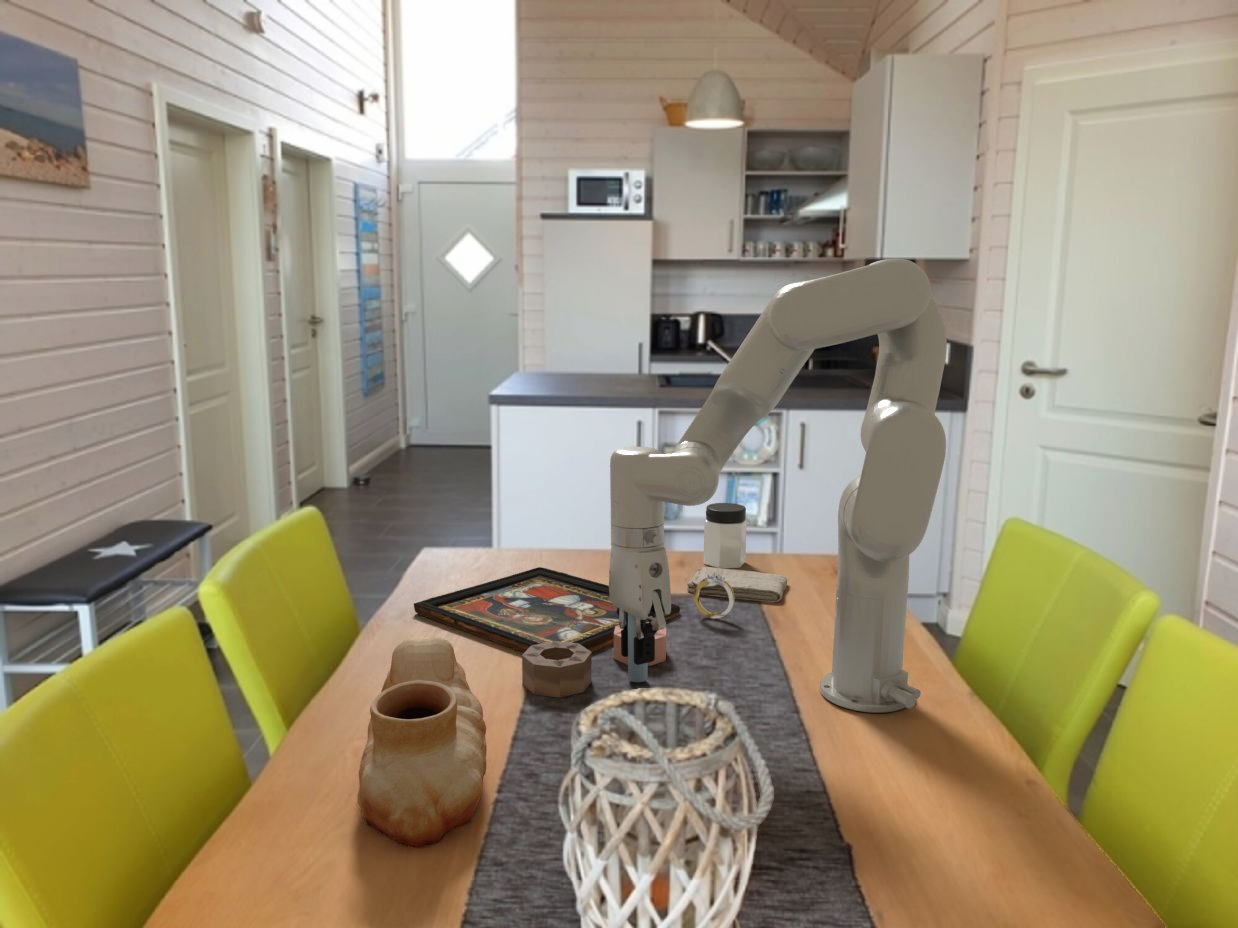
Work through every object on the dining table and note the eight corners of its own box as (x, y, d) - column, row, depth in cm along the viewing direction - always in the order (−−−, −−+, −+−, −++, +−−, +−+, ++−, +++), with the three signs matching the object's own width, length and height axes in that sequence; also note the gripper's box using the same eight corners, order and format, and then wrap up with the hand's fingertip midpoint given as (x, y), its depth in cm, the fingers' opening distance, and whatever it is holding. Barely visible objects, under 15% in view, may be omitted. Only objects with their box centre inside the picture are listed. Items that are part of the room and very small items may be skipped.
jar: (710, 555, 203) (712, 500, 201) (748, 559, 201) (750, 504, 199) (699, 566, 195) (701, 509, 193) (738, 571, 192) (740, 513, 190)
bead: (600, 687, 136) (600, 658, 135) (542, 701, 131) (542, 670, 130) (570, 665, 144) (570, 637, 143) (514, 678, 139) (514, 648, 138)
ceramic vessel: (486, 731, 123) (484, 620, 120) (488, 849, 97) (486, 711, 94) (375, 737, 121) (371, 625, 118) (348, 859, 95) (342, 719, 92)
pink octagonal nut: (676, 656, 148) (677, 632, 147) (638, 669, 143) (638, 644, 142) (641, 641, 154) (642, 618, 153) (603, 653, 148) (603, 629, 148)
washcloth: (697, 577, 189) (697, 562, 189) (788, 586, 185) (789, 570, 184) (684, 596, 178) (685, 580, 178) (781, 605, 173) (782, 589, 173)
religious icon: (691, 610, 171) (692, 595, 170) (576, 675, 142) (576, 657, 141) (526, 573, 191) (525, 560, 191) (395, 624, 162) (395, 608, 162)
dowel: (651, 679, 138) (650, 600, 135) (634, 683, 136) (634, 603, 134) (640, 672, 140) (640, 594, 138) (624, 677, 139) (623, 598, 136)
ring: (735, 619, 165) (737, 574, 163) (728, 624, 162) (730, 579, 160) (698, 612, 168) (699, 568, 166) (691, 617, 165) (692, 573, 164)
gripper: (692, 544, 129) (691, 672, 133) (629, 519, 143) (630, 636, 146) (645, 552, 125) (646, 683, 129) (586, 526, 139) (587, 645, 143)
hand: (637, 657), depth 138 cm, fingers closed on dowel, 2 cm apart
